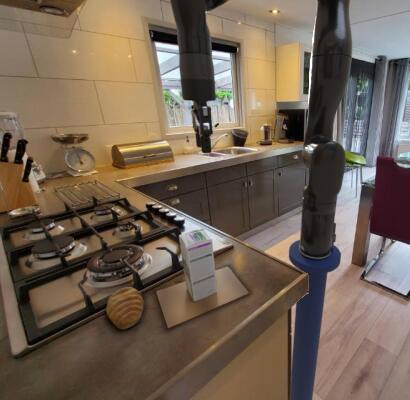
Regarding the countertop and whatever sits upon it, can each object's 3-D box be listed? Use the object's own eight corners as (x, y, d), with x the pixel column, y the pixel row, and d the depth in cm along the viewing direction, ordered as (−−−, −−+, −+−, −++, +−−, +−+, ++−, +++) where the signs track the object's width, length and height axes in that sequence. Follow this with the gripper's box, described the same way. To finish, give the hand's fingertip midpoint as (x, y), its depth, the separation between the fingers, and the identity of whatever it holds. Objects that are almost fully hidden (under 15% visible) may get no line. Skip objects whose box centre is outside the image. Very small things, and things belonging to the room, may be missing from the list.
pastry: (150, 321, 51) (147, 306, 49) (111, 338, 47) (107, 323, 45) (140, 294, 57) (137, 280, 56) (106, 307, 54) (101, 293, 52)
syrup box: (218, 292, 58) (213, 238, 53) (192, 303, 55) (185, 246, 50) (209, 279, 62) (204, 227, 57) (185, 288, 59) (177, 234, 54)
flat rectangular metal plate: (227, 266, 67) (227, 266, 67) (249, 293, 58) (249, 293, 58) (156, 292, 58) (156, 291, 58) (167, 328, 49) (167, 328, 49)
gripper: (221, 76, 52) (225, 154, 58) (208, 81, 64) (213, 144, 70) (183, 74, 49) (191, 156, 55) (177, 79, 62) (185, 146, 68)
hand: (203, 149), depth 63 cm, fingers open, 8 cm apart
